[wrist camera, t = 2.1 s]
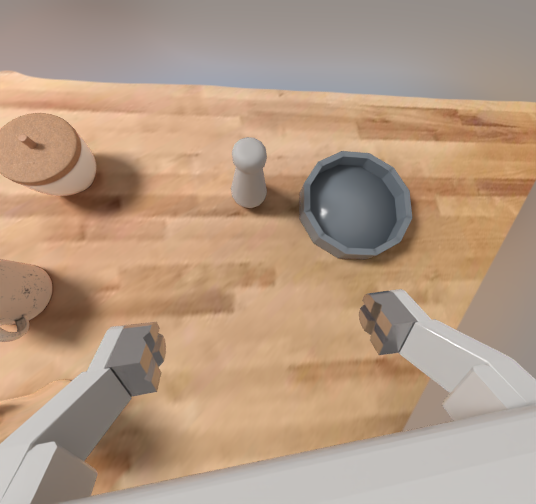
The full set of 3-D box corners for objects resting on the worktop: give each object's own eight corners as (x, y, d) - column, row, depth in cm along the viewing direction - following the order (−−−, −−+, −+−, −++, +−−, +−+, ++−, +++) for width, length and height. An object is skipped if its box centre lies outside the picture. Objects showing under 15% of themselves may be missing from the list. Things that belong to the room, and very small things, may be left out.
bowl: (413, 196, 43) (427, 187, 40) (371, 279, 39) (383, 276, 36) (329, 147, 44) (336, 133, 41) (280, 222, 40) (283, 215, 37)
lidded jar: (36, 208, 37) (-33, 177, 28) (44, 148, 40) (-18, 102, 30) (107, 205, 38) (63, 174, 29) (111, 147, 41) (71, 102, 31)
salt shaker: (238, 217, 40) (234, 176, 27) (227, 187, 41) (217, 135, 28) (270, 206, 40) (280, 162, 28) (259, 178, 41) (263, 123, 29)
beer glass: (88, 372, 33) (-40, 427, 18) (84, 428, 31) (-58, 536, 17) (34, 378, 32) (-143, 440, 18) (28, 435, 31) (-171, 555, 16)
